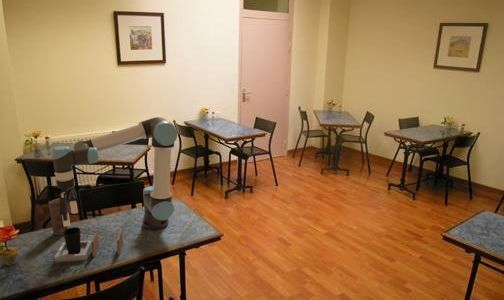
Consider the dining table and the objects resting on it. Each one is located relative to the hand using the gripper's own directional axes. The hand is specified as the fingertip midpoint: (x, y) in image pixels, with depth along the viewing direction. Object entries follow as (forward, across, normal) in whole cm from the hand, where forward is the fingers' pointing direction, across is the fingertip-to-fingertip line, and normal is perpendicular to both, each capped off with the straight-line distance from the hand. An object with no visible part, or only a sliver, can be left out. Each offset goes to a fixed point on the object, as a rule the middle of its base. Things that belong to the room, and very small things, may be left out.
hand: (70, 219), depth 183 cm
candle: (+19, -23, -14) cm, 33 cm away
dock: (+19, 0, -1) cm, 19 cm away
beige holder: (+19, -1, +15) cm, 25 cm away
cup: (+18, 0, -1) cm, 19 cm away
